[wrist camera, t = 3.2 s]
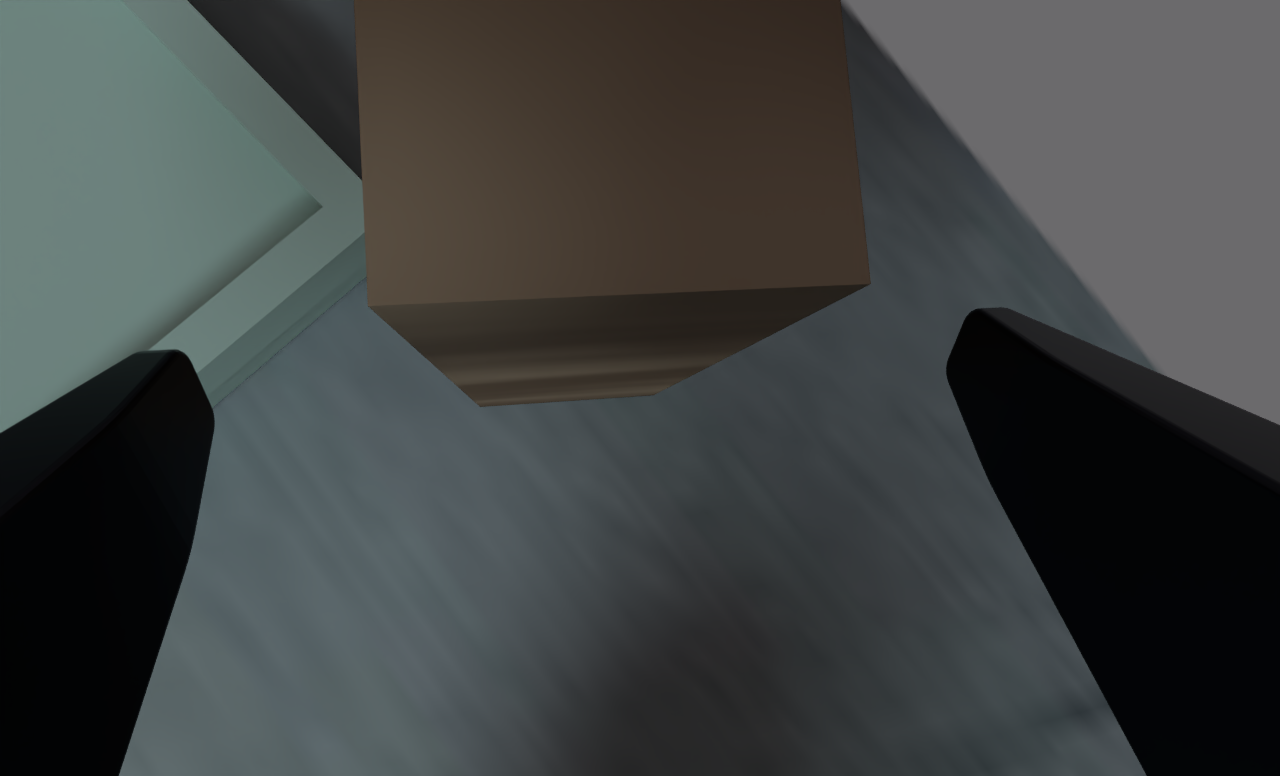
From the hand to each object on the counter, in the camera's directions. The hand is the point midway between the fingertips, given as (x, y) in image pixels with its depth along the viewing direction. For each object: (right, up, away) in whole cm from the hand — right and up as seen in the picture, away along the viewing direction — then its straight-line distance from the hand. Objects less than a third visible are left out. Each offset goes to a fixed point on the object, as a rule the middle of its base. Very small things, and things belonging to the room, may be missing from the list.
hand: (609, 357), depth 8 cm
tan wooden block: (-2, +2, +10) cm, 10 cm away
